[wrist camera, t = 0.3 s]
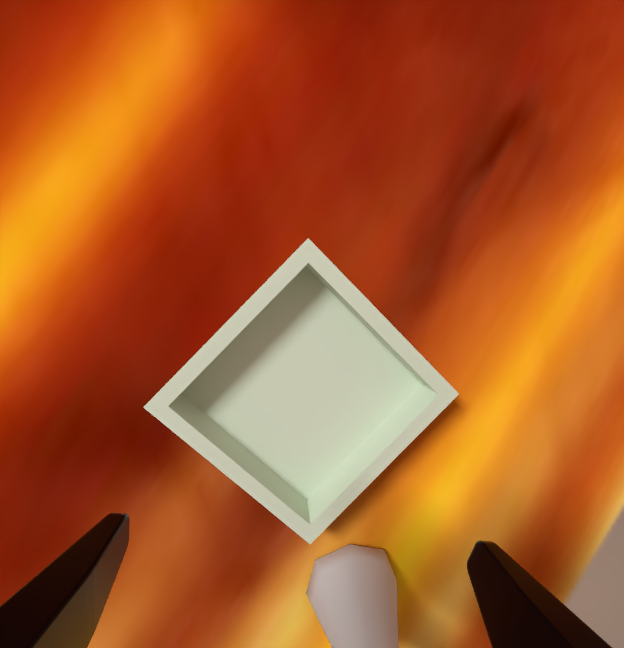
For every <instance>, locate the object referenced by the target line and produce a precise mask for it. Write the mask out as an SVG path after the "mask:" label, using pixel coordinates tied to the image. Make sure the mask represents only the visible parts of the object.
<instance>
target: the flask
mask: <svg viewBox="0 0 624 648" xmlns="http://www.w3.org/2000/svg"><path fill="white" fill-rule="evenodd" d="M306 594H307V596H308V598H309V601H310V603H311V605H312V607H313V609H314V611H315V613H316V615H317V617H318V619H319V621H320V623H321V625H322V628H323V630H324V632H325V634H326V636H327V638H328V640H329V642H330V644H331V646H332V648H399V638H398V605H397V578H396V576H395V574H394V571H393V569H392V567H391V564H390V562H389V560H388V557H387V555H386V553H385V550H384V549H378V548H371V547H365V546H358V545H352V544H349V545H347V546H344V547H342V548H340V549H338V550H336V551H334V552H332V553H329V554H327V555H325V556H323V557H321V558H319V559H316V560H315V563H314V567H313V570H312V574H311V578H310V581H309V585H308V588H307V592H306Z"/></svg>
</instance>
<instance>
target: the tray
mask: <svg viewBox="0 0 624 648" xmlns="http://www.w3.org/2000/svg"><path fill="white" fill-rule="evenodd" d="M458 395H459V393H458V392H457V391H456V390H455V389H454V388H453V387H452V386H451V385H450V384H449V383H448V382H447V381H446V380H445V379H444V378H443V377H442V376H441V375H440V374H439V373H438V372H437V371H436V370H435V369H434V368H433V366H432V365H431V364H430V363H429V362H428V361H427V360H426V359H425V358H424V357H423V356H422V355H421V354H420V353H419V352H418V351H417V350H416V349H415V348H414V347H413V346H412V345H411V344H410V343H409V342H408V341H407V340H406V339H405V338H404V337H403V336H402V334H401V333H400V332H399V331H398V330H397V329H396V328H395V327H394V326H393V325H392V324H391V323H390V322H389V321H388V320H387V319H386V318H385V317H384V316H383V315H382V314H381V313H380V312H379V311H378V310H377V309H376V308H375V307H374V306H373V305H372V304H371V302H370V301H369V300H368V299H367V298H366V297H365V296H364V295H363V294H362V293H361V292H360V291H359V290H358V289H357V288H356V287H355V286H354V285H353V284H352V283H351V282H350V281H349V280H348V279H347V278H346V277H345V276H344V275H343V274H342V273H341V272H340V270H339V269H338V268H337V267H336V266H335V265H334V264H333V263H332V262H331V261H330V260H329V259H328V258H327V257H326V256H325V255H324V254H323V253H322V252H321V251H320V250H319V249H318V248H317V247H316V246H315V245H314V244H313V243H312V242H311V241H310V239H309V238H308V239H307V240H306V241H305V242H304V243H303V244H302V245H301V246H300V247H299V248H298V249H297V250H296V251H295V252H294V253H293V254H292V255H291V256H290V257H289V258H288V260H287V261H286V262H285V263H284V264H283V265H282V266H281V267H280V268H279V269H278V270H277V271H276V272H275V273H274V274H273V275H272V276H271V277H270V278H269V279H268V280H267V281H266V282H265V283H264V284H263V285H262V286H261V287H260V288H259V289H258V290H257V291H256V292H255V293H254V294H253V295H252V296H251V297H250V299H249V300H248V301H247V302H246V303H245V304H244V305H243V306H242V307H241V308H240V309H239V310H238V311H237V312H236V313H235V314H234V315H233V316H232V317H231V318H230V319H229V320H228V321H227V322H226V323H225V324H224V325H223V326H222V327H221V328H220V329H219V330H218V331H217V332H216V333H215V334H214V335H213V336H212V337H211V339H210V340H209V341H208V342H207V343H206V344H205V345H204V346H203V347H202V348H201V349H200V350H199V351H198V352H197V353H196V354H195V355H194V356H193V357H192V358H191V359H190V360H189V361H188V362H187V363H186V364H185V365H184V366H183V367H182V368H181V369H180V370H179V371H178V372H177V373H176V374H175V375H174V376H173V377H172V379H171V380H170V381H169V382H168V383H167V384H166V385H165V386H164V387H163V388H162V389H161V390H160V391H159V392H158V393H157V394H156V395H155V396H154V397H153V398H152V399H151V400H150V401H149V402H148V403H147V404H146V405H145V406H144V408H145V409H146V410H147V411H148V412H150V413H151V414H152V415H153V416H155V417H156V418H157V419H158V420H159V421H161V422H162V423H163V424H164V425H166V426H167V427H168V428H169V429H170V430H172V431H173V432H174V433H175V434H176V435H178V436H179V437H180V438H181V439H183V440H184V441H185V442H186V443H187V444H189V445H190V446H191V447H192V448H194V449H195V450H196V451H197V452H198V453H200V454H201V455H202V456H203V457H204V458H206V459H207V460H208V461H209V462H211V463H212V464H213V465H214V466H215V467H217V468H218V469H219V470H220V471H221V472H223V473H224V474H225V475H226V476H228V477H229V478H230V479H231V480H232V481H234V482H235V483H236V484H237V485H239V486H240V487H241V488H242V489H243V490H245V491H246V492H247V493H248V494H249V495H251V496H252V497H253V498H254V499H256V500H257V501H258V502H259V503H260V504H262V505H263V506H264V507H265V508H267V509H268V510H269V511H270V512H271V513H273V514H274V515H275V516H276V517H277V518H279V519H280V520H281V521H282V522H284V523H285V524H286V525H287V526H288V527H290V528H291V529H292V530H293V531H295V532H296V533H297V534H298V535H299V536H301V537H302V538H303V539H304V540H305V541H307V542H308V543H309V544H311V543H312V542H313V541H314V540H315V539H316V538H317V537H318V536H319V535H320V534H321V533H322V532H323V531H324V530H325V529H326V528H327V527H328V526H329V525H330V524H331V523H332V522H333V521H334V520H335V519H336V518H337V517H338V516H339V515H340V514H341V513H342V512H343V511H344V510H345V509H346V508H347V507H348V506H349V505H350V504H351V503H352V502H353V501H354V500H355V499H356V498H357V497H358V496H359V495H360V494H361V493H362V492H363V491H364V490H365V489H366V488H367V487H368V486H369V485H370V484H371V483H372V481H373V480H374V479H375V478H376V477H377V476H378V475H379V474H380V473H381V472H382V471H383V470H384V469H385V468H386V467H387V466H388V465H389V464H390V463H391V462H392V461H393V460H394V459H395V458H396V457H397V456H398V455H399V454H400V453H401V452H402V451H403V450H404V449H405V448H406V447H407V446H408V445H409V444H410V443H411V442H412V441H413V440H414V439H415V438H416V437H417V436H418V435H419V434H420V433H421V432H422V431H423V430H424V429H425V428H426V427H427V426H428V425H429V424H430V423H431V422H432V421H433V420H434V419H435V418H436V417H437V416H438V415H439V414H440V413H441V412H442V411H443V410H444V409H445V408H446V407H447V406H448V405H449V404H450V403H451V402H452V401H453V400H454V399H455V398H456V397H457V396H458Z"/></svg>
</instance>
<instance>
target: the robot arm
mask: <svg viewBox="0 0 624 648" xmlns="http://www.w3.org/2000/svg"><path fill="white" fill-rule="evenodd" d="M128 542H129V515H128V514H122V513H111V514H109V515H107V516H106V517H105V518H103V519H102V520H101V521H100V522H99V523H98V524H96V525H95V526H94V527H93V528H92V529H90V530H89V531H88V532H87V533H86V534H85V535H83V536H82V537H81V538H80V539H79V540H78V541H76V542H75V543H74V544H73V545H72V546H70V547H69V548H68V549H67V550H66V551H65V552H63V553H62V554H61V555H60V556H59V557H58V558H56V559H55V560H54V561H53V562H52V563H50V564H49V565H48V566H47V567H46V568H45V569H43V570H42V571H41V572H40V573H39V574H38V575H36V576H35V577H34V578H33V579H32V580H30V581H29V582H28V583H27V584H26V585H25V586H23V587H22V588H21V589H20V590H19V591H18V592H16V593H15V594H14V595H13V596H12V597H10V598H9V599H8V600H7V601H6V602H5V603H3V604H2V605H1V606H0V648H87V647H88V645H89V643H90V640H91V638H92V636H93V634H94V632H95V629H96V627H97V624H98V622H99V619H100V617H101V614H102V612H103V609H104V606H105V604H106V601H107V599H108V596H109V594H110V591H111V588H112V586H113V583H114V581H115V578H116V575H117V573H118V570H119V568H120V565H121V562H122V560H123V557H124V555H125V552H126V549H127V546H128ZM467 569H468V574H469V577H470V580H471V583H472V586H473V589H474V593H475V596H476V599H477V602H478V605H479V608H480V612H481V615H482V618H483V621H484V624H485V627H486V630H487V633H488V636H489V639H490V642H491V645H492V648H612V647H611V646H610V645H608V644H607V643H606V642H605V641H604V640H603V639H602V638H601V637H599V636H598V635H597V634H596V633H595V632H594V631H593V630H592V629H591V628H589V627H588V626H587V625H586V624H585V623H584V622H583V621H582V620H580V619H579V618H578V617H577V616H576V615H575V614H574V613H573V612H572V611H570V610H569V609H568V608H567V607H566V606H565V605H564V604H563V603H561V602H560V601H559V600H558V599H557V598H556V597H555V596H554V595H553V594H551V593H550V592H549V591H548V590H547V589H546V588H545V587H544V586H542V585H541V584H540V583H539V582H538V581H537V580H536V579H535V578H533V577H532V576H531V575H530V574H529V573H528V572H527V571H526V570H525V569H523V568H522V567H521V566H520V565H519V564H518V563H517V562H516V561H514V560H513V559H512V558H511V557H510V556H509V555H508V554H507V553H506V552H504V551H503V550H502V549H501V548H500V547H499V546H498V545H496V544H495V543H494V542H491V541H478V542H476V544H475V546H474V548H473V550H472V552H471V554H470V557H469V559H468V561H467Z"/></svg>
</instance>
